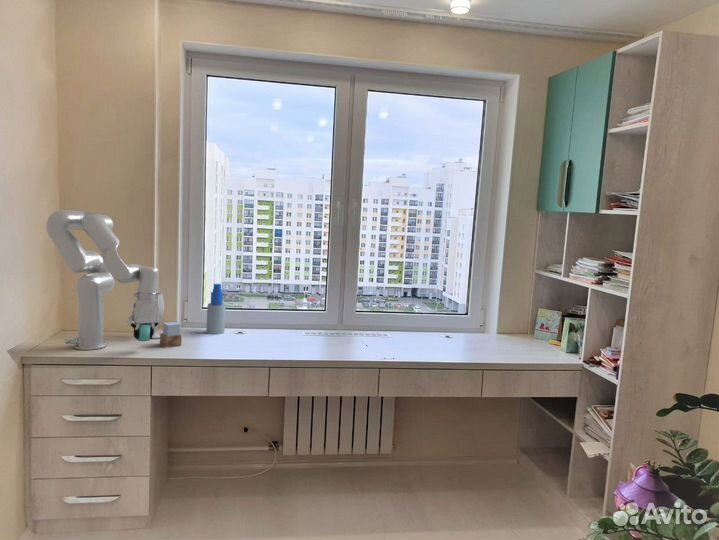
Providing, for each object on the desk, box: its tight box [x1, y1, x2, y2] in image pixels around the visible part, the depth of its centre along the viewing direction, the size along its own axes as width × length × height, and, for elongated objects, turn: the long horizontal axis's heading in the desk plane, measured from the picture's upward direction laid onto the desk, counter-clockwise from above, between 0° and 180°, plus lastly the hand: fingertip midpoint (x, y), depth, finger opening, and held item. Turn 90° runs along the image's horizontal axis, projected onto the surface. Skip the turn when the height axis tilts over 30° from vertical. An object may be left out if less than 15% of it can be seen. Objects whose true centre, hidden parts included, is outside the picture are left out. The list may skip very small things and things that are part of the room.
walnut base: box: [159, 332, 183, 348], centre depth 229 cm, size 7×7×5 cm
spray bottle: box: [205, 283, 226, 335], centre depth 258 cm, size 9×9×25 cm
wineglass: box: [149, 292, 165, 340], centre depth 240 cm, size 9×9×21 cm
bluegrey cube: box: [162, 321, 181, 336], centre depth 229 cm, size 6×6×5 cm
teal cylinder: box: [136, 323, 151, 342], centre depth 215 cm, size 5×5×7 cm
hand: (143, 337), depth 216 cm, fingers closed on teal cylinder, 5 cm apart
